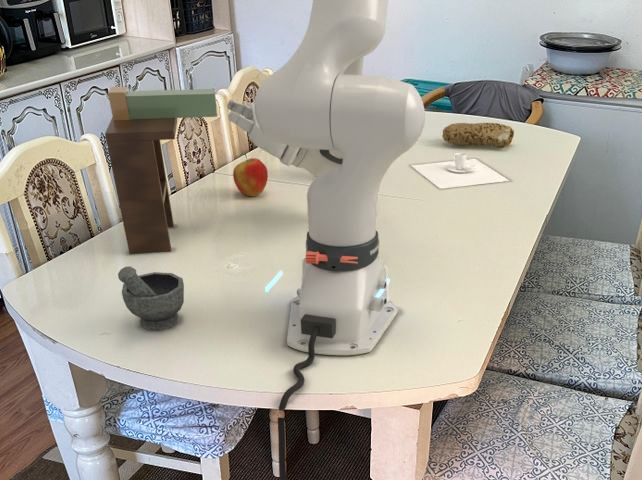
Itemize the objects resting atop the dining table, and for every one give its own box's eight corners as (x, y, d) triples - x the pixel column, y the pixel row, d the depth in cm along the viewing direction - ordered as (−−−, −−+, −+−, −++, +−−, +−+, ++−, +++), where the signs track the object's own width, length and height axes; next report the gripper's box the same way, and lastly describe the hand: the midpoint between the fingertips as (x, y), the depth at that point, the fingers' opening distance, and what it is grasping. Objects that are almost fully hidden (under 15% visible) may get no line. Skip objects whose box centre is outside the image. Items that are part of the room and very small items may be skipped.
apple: (259, 202, 166) (255, 160, 161) (229, 197, 168) (224, 156, 163) (275, 191, 173) (272, 151, 167) (246, 187, 175) (242, 147, 169)
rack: (192, 224, 154) (176, 112, 141) (191, 250, 142) (173, 130, 130) (135, 227, 151) (113, 114, 139) (129, 254, 140) (104, 133, 127)
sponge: (511, 146, 214) (450, 126, 217) (518, 123, 208) (456, 102, 211) (499, 166, 205) (436, 144, 208) (506, 142, 199) (441, 120, 203)
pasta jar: (217, 110, 143) (214, 84, 140) (217, 117, 138) (214, 89, 136) (116, 114, 139) (111, 86, 136) (113, 120, 135) (107, 92, 132)
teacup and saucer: (481, 173, 188) (482, 158, 186) (454, 176, 185) (455, 160, 183) (467, 163, 195) (468, 149, 193) (441, 166, 192) (441, 151, 190)
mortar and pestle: (155, 303, 123) (144, 240, 117) (200, 314, 120) (190, 249, 114) (111, 333, 114) (95, 266, 108) (158, 345, 111) (145, 277, 105)
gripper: (292, 114, 154) (233, 83, 148) (303, 140, 137) (237, 106, 131) (280, 140, 156) (221, 110, 150) (288, 169, 140) (223, 136, 133)
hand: (228, 108), depth 141 cm, fingers open, 8 cm apart
